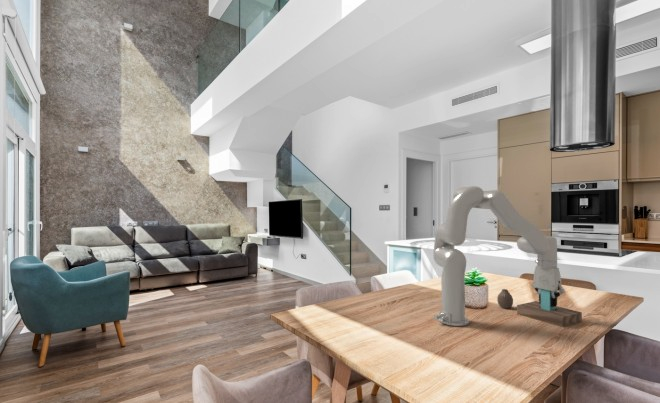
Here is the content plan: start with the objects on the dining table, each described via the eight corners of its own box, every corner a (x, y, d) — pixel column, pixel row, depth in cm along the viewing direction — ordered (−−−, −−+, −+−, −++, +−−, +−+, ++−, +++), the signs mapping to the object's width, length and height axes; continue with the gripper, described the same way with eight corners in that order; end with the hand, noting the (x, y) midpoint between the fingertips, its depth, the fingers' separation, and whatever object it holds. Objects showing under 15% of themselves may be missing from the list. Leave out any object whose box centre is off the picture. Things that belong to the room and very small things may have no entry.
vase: (511, 310, 163) (511, 292, 164) (496, 308, 168) (495, 290, 168) (514, 307, 169) (514, 289, 169) (499, 304, 173) (498, 287, 173)
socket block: (562, 327, 141) (562, 317, 141) (517, 313, 158) (517, 305, 158) (581, 321, 147) (581, 312, 147) (536, 309, 165) (535, 301, 165)
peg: (549, 316, 150) (549, 288, 150) (540, 313, 154) (540, 287, 154) (555, 315, 152) (555, 287, 152) (546, 312, 155) (545, 286, 155)
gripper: (523, 262, 159) (524, 301, 159) (562, 267, 144) (562, 311, 143) (534, 260, 162) (534, 299, 162) (572, 266, 147) (573, 308, 147)
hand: (547, 304), depth 153 cm, fingers open, 4 cm apart
